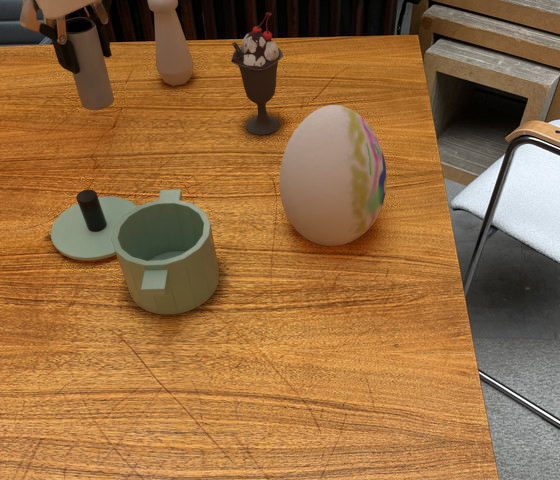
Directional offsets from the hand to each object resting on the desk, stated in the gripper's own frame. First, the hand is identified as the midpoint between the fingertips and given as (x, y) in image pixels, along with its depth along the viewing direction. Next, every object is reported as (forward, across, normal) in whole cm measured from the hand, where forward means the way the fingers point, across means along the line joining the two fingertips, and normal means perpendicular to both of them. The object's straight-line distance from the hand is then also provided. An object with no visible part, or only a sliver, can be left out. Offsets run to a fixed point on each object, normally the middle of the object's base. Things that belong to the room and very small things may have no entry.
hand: (86, 60), depth 84 cm
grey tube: (+6, 0, 0) cm, 6 cm away
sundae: (+10, -15, +17) cm, 25 cm away
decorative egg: (+10, -4, +38) cm, 40 cm away
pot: (+10, +15, +30) cm, 35 cm away
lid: (+10, +15, +16) cm, 24 cm away
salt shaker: (+10, -17, -2) cm, 20 cm away
